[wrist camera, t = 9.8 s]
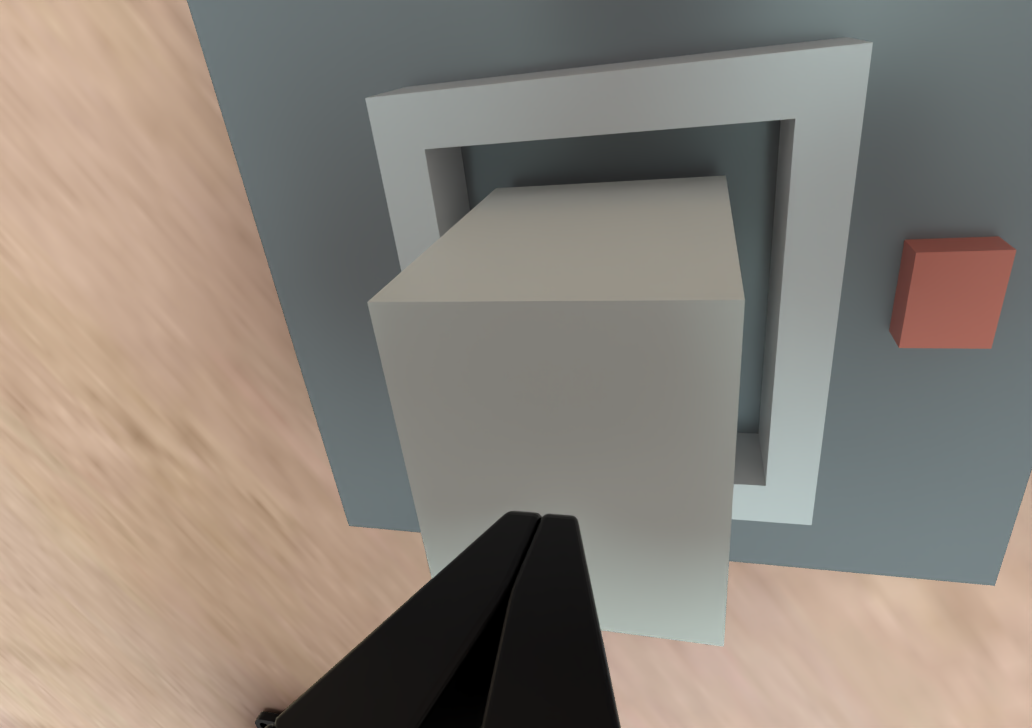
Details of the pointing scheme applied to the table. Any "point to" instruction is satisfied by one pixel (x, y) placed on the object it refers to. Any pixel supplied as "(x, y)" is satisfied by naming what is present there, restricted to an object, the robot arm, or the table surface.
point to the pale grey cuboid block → (580, 386)
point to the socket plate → (755, 212)
